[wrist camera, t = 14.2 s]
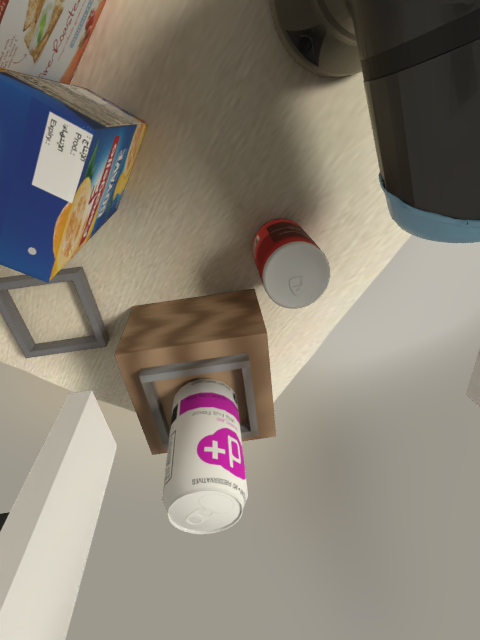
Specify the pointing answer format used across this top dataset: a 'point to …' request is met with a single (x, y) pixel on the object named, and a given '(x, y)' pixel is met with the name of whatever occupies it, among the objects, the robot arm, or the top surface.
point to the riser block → (197, 359)
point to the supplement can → (205, 459)
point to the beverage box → (58, 169)
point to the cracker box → (46, 35)
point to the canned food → (290, 264)
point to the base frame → (11, 315)
